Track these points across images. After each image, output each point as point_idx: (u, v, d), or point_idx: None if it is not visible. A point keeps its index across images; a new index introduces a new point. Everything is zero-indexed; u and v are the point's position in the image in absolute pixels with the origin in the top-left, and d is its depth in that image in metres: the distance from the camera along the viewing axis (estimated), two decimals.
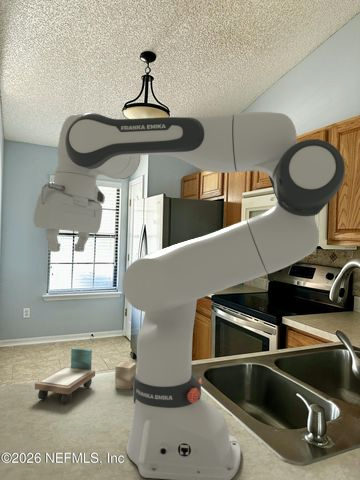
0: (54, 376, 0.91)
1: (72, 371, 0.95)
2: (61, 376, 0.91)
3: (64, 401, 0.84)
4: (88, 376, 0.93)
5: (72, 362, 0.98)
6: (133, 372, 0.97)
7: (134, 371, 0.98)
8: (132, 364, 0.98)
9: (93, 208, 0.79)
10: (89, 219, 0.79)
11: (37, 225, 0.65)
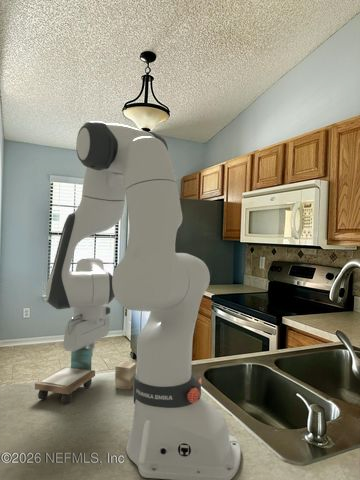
0: (54, 376, 0.91)
1: (72, 371, 0.95)
2: (61, 376, 0.91)
3: (64, 401, 0.84)
4: (88, 376, 0.93)
5: (72, 362, 0.98)
6: (133, 372, 0.97)
7: (134, 371, 0.98)
8: (132, 364, 0.98)
9: (103, 320, 1.07)
10: (101, 328, 1.06)
11: (66, 349, 0.92)
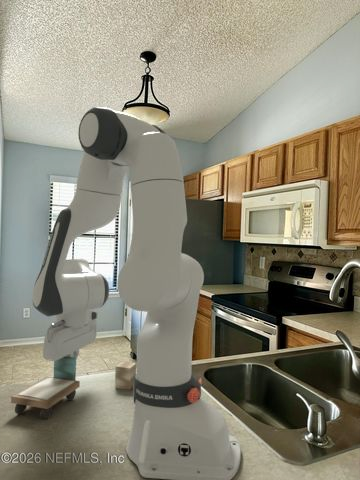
0: (34, 388, 0.83)
1: (54, 381, 0.87)
2: (41, 388, 0.83)
3: (43, 416, 0.77)
4: (71, 387, 0.85)
5: (55, 371, 0.91)
6: (133, 372, 0.97)
7: (134, 371, 0.98)
8: (132, 364, 0.98)
9: (89, 325, 0.98)
10: (87, 335, 0.97)
11: (46, 359, 0.84)
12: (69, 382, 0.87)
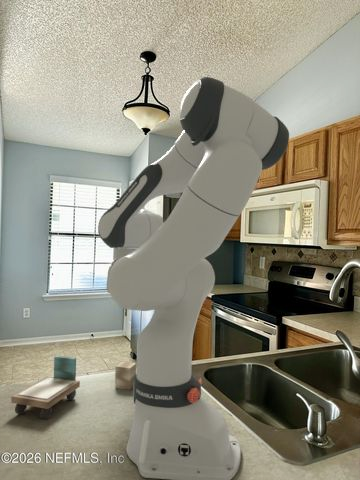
0: (34, 388, 0.83)
1: (54, 381, 0.87)
2: (41, 388, 0.83)
3: (43, 416, 0.77)
4: (71, 387, 0.85)
5: (55, 371, 0.91)
6: (133, 372, 0.97)
7: (134, 371, 0.98)
8: (132, 364, 0.98)
9: None
10: None
11: (109, 291, 0.89)
12: (69, 382, 0.87)
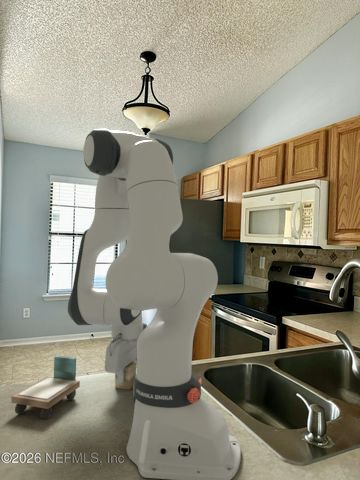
0: (34, 388, 0.83)
1: (54, 381, 0.87)
2: (41, 388, 0.83)
3: (43, 416, 0.77)
4: (71, 387, 0.85)
5: (55, 371, 0.91)
6: (133, 372, 0.97)
7: (134, 371, 0.98)
8: (132, 364, 0.98)
9: None
10: None
11: (108, 371, 0.89)
12: (69, 382, 0.87)
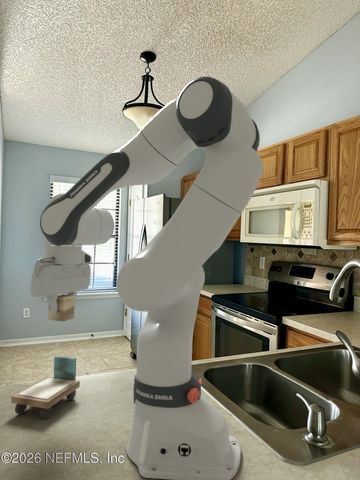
0: (34, 388, 0.83)
1: (54, 381, 0.87)
2: (41, 388, 0.83)
3: (43, 416, 0.77)
4: (71, 387, 0.85)
5: (55, 371, 0.91)
6: (70, 303, 0.86)
7: (71, 303, 0.87)
8: (69, 295, 0.87)
9: (82, 269, 0.92)
10: (79, 278, 0.91)
11: (33, 295, 0.78)
12: (69, 382, 0.87)
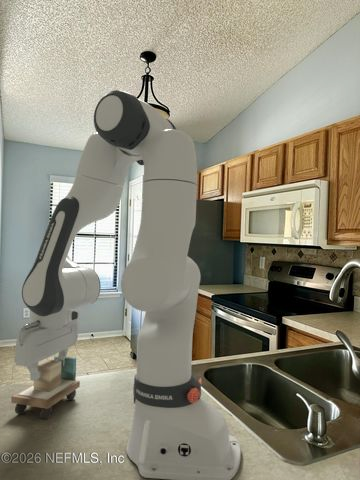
0: None
1: None
2: None
3: (43, 416, 0.77)
4: (71, 387, 0.85)
5: None
6: (56, 371, 0.84)
7: (58, 370, 0.84)
8: (55, 362, 0.84)
9: (69, 326, 0.89)
10: (66, 336, 0.88)
11: (18, 364, 0.75)
12: (69, 382, 0.87)
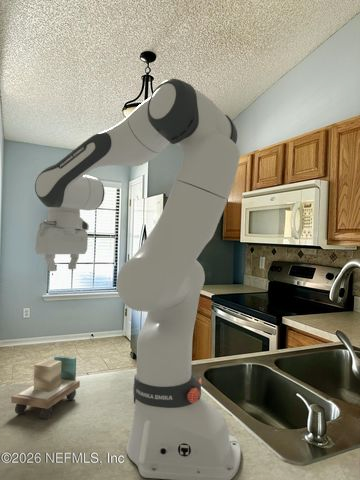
0: None
1: None
2: None
3: (43, 416, 0.77)
4: (71, 387, 0.85)
5: None
6: (56, 371, 0.84)
7: (58, 370, 0.84)
8: (55, 362, 0.84)
9: (80, 235, 1.03)
10: (78, 243, 1.02)
11: (38, 253, 0.89)
12: (69, 382, 0.87)
